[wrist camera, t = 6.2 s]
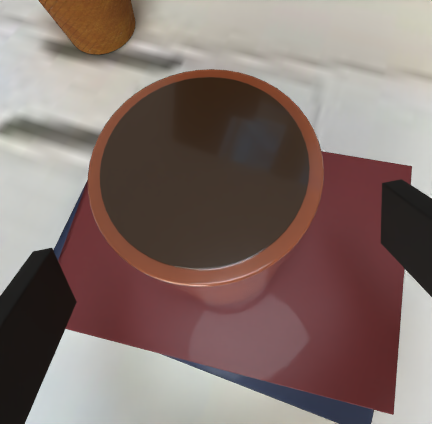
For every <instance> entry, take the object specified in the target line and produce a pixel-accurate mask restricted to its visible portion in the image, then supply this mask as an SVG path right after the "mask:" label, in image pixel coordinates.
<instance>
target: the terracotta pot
mask: <svg viewBox="0 0 432 424" xmlns="http://www.w3.org/2000/svg"><path fill="white" fill-rule="evenodd" d="M323 182H324V166H323V156H322V152H321V148H320V144H319V141H318V139H317V136H316V134H315V132H314V129H313V128H312V126H311V124H310V122H309V121H308V119H307V117H306V116H305V115H304V113H303V112H302V111H301V110H300V108H299V107H298V106H297V105H296V104H295V103H294V102H293V101H292V100H291V99H290V98H289V97H288V96H286V95H285V94H284V93H282V92H281V91H280V90H278V89H277V88H275V87H274V86H272V85H270V84H268V83H267V82H265V81H262V80H260V79H258V78H255V77H253V76H249V75H246V74H243V73H239V72H233V71H228V70H214V69H209V70H195V71H188V72H183V73H179V74H176V75H172V76H169V77H166V78H164V79H161V80H159V81H156V82H154V83H153V84H151V85H149V86H147V87H145V88H143V89H142V90H140V91H139V92H137V93H136V94H134V95H133V96H132V97H131V98H130V99H128V100H127V101H126V102H125V103H124V104H123V105H122V106H121V107H120V108H119V109H118V110H117V111H116V112H115V113H114V114H113V115H112V117H111V118H110V119H109V121H108V122H107V123H106V125H105V127H104V128H103V130H102V132H101V133H100V135H99V137H98V139H97V142H96V144H95V147H94V149H93V153H92V156H91V160H90V165H89V172H88V194H89V201H90V206H91V210H92V213H93V216H94V219H95V221H96V223H97V226H98V228H99V230H100V232H101V233H102V235H103V236H104V238H105V239H106V241H107V242H108V244H109V245H110V246H111V247H112V248H113V250H114V251H115V252H116V253H117V254H118V255H119V256H120V257H121V258H122V259H124V260H125V261H126V262H127V263H128V264H130V265H131V266H133V267H134V268H136V269H137V270H139V271H141V272H142V273H144V274H146V275H147V276H149V277H151V278H153V279H154V280H157V281H159V282H161V283H164V284H166V285H168V286H171V287H175V288H179V289H180V290H182V291H183V292H185V293H187V294H188V295H190V296H192V297H194V298H196V299H198V300H201V301H205V302H208V303H216V304H227V303H234V302H238V301H242V300H244V299H247V298H249V297H251V296H253V295H255V294H256V293H258V292H259V291H261V290H262V289H263V288H264V287H265V286H266V285H267V284H268V283H269V282H270V281H271V280H272V279H273V277H274V276H275V275H276V273H277V271H278V269H279V267H280V266H281V264H282V262H283V261H284V260H285V259H286V258H287V257H288V256H289V255H290V254H291V253H292V252H293V251H294V249H295V248H296V246H297V245H298V244H299V242H300V241H301V239H302V238H303V236H304V235H305V233H306V231H307V230H308V228H309V226H310V224H311V222H312V220H313V218H314V216H315V214H316V211H317V209H318V206H319V203H320V200H321V195H322V190H323Z"/></svg>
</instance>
